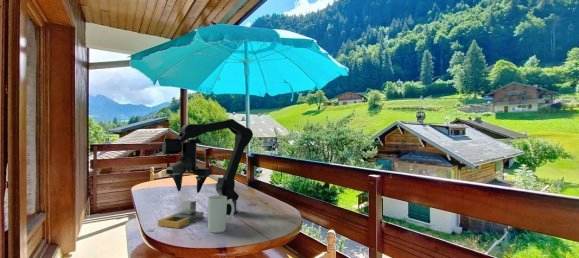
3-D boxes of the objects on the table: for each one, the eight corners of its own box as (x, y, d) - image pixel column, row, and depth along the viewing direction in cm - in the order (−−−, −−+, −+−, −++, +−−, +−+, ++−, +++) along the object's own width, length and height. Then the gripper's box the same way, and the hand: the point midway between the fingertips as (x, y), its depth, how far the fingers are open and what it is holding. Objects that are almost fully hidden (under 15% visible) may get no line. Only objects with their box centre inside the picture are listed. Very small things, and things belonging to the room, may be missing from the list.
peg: (195, 217, 130) (196, 200, 130) (190, 220, 126) (190, 202, 127) (187, 216, 131) (187, 200, 132) (181, 219, 128) (181, 202, 128)
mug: (210, 234, 109) (211, 199, 109) (204, 229, 115) (205, 196, 115) (237, 230, 115) (238, 197, 115) (230, 225, 120) (231, 194, 120)
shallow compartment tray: (203, 216, 132) (203, 212, 132) (178, 228, 115) (178, 222, 115) (185, 214, 134) (185, 210, 134) (157, 225, 118) (158, 220, 118)
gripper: (157, 154, 125) (156, 193, 124) (197, 156, 119) (196, 197, 119) (175, 153, 135) (174, 189, 135) (212, 154, 130) (212, 192, 129)
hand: (188, 191), depth 129 cm, fingers open, 9 cm apart
